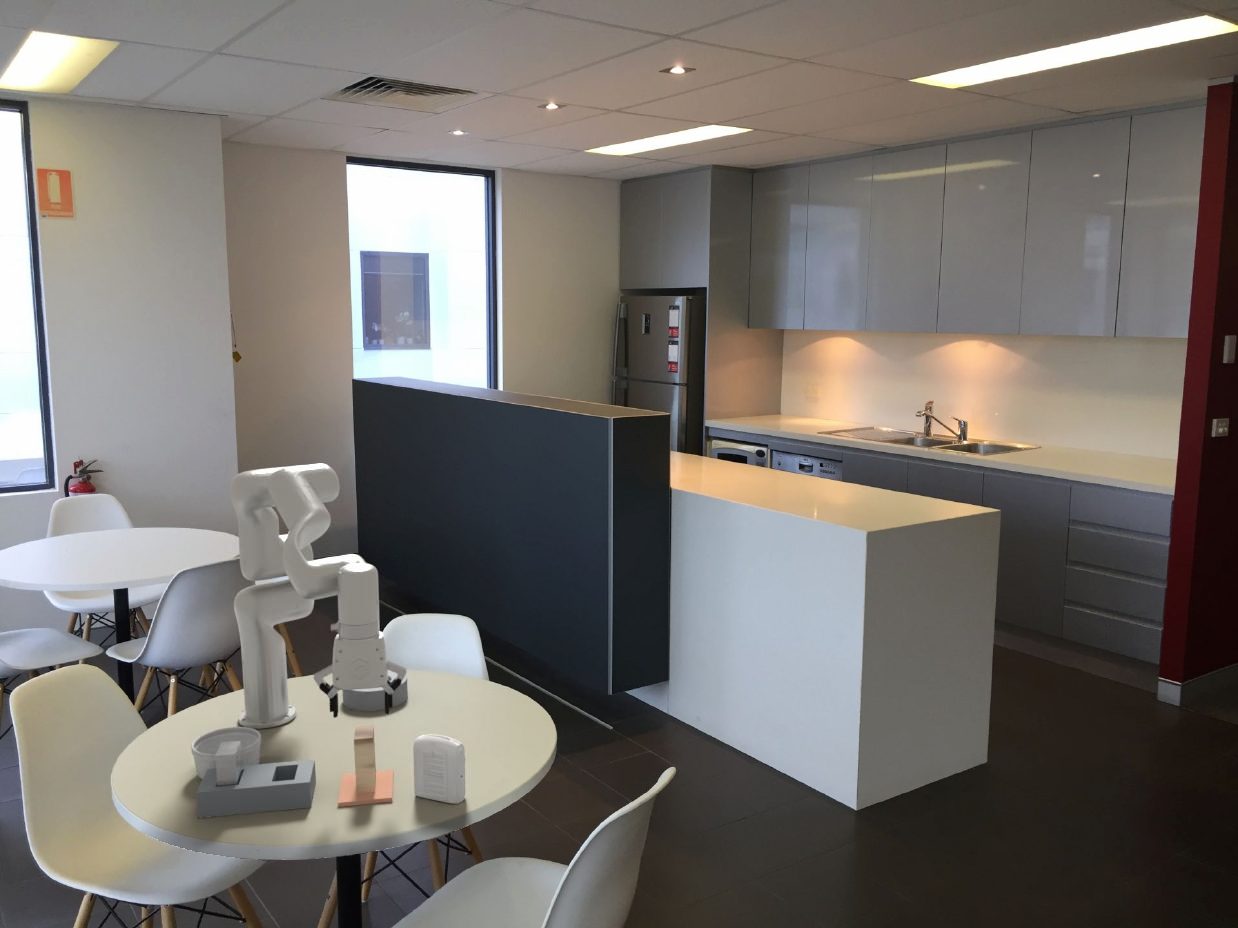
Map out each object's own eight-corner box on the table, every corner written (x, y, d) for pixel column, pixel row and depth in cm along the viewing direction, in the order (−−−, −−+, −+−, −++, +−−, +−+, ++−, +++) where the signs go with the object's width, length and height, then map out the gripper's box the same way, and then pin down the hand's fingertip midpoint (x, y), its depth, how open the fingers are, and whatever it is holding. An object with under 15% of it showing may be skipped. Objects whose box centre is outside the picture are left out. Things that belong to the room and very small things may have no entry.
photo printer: (469, 796, 191) (467, 735, 189) (457, 806, 187) (455, 744, 185) (423, 787, 195) (421, 727, 193) (411, 797, 191) (408, 736, 189)
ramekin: (234, 791, 194) (232, 757, 193) (178, 782, 198) (176, 749, 197) (276, 762, 206) (274, 730, 205) (222, 754, 210) (220, 723, 209)
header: (209, 792, 193) (207, 768, 192) (316, 782, 197) (314, 759, 196) (198, 818, 183) (196, 792, 183) (311, 806, 187) (309, 781, 187)
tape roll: (343, 691, 246) (342, 671, 245) (406, 685, 250) (406, 666, 249) (342, 714, 231) (341, 694, 231) (409, 708, 235) (408, 687, 234)
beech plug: (357, 779, 197) (355, 726, 195) (376, 777, 197) (373, 725, 196) (356, 793, 191) (353, 739, 189) (375, 791, 191) (372, 737, 190)
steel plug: (224, 796, 192) (221, 742, 190) (244, 794, 192) (240, 740, 191) (219, 811, 186) (215, 755, 184) (238, 809, 187) (235, 753, 185)
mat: (342, 778, 199) (342, 774, 199) (393, 773, 201) (393, 769, 201) (338, 806, 187) (337, 802, 187) (392, 801, 189) (392, 797, 189)
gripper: (310, 637, 184) (313, 724, 187) (405, 632, 188) (407, 717, 190) (313, 624, 191) (317, 708, 194) (405, 619, 195) (407, 702, 198)
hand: (361, 712), depth 192 cm, fingers open, 9 cm apart
